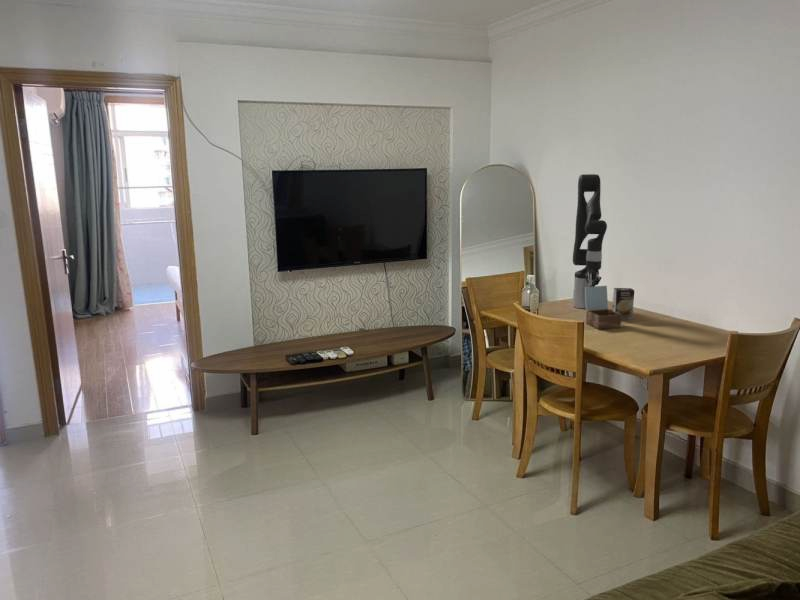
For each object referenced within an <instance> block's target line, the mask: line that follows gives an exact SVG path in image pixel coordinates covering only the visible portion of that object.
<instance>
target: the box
mask: <svg viewBox="0 0 800 600" xmlns="http://www.w3.org/2000/svg"><path fill="white" fill-rule="evenodd" d="M585 325H587V326H589V325H590V327H591V326H592V327H591V328H593V327H594V329H596V330H598V331H600V330H604V331H605V330H614V329H621V327H622V320H621V314H618V313H616V312H613V311H612V309H609V308H608V309H602V310H589V311H586V318H585Z"/></svg>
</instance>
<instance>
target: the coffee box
mask: <svg viewBox="0 0 800 600" xmlns="http://www.w3.org/2000/svg"><path fill="white" fill-rule="evenodd" d="M612 294H613V297H612V308H611V311H613V312H616V313H618V314H621V321H633V315H634V303H635V302H634V301H635V298H634V297H635V289H633V288H630V287H629V288H628V287H614V288H613V293H612Z"/></svg>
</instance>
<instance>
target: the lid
mask: <svg viewBox="0 0 800 600" xmlns="http://www.w3.org/2000/svg"><path fill="white" fill-rule="evenodd" d="M585 303H586V308H585V311H586V312H587V311H594V310H607V309H608V310H609V304H608V303H609V302H608V286H607V285H596V286H594V287H585Z"/></svg>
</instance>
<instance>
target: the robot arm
mask: <svg viewBox="0 0 800 600" xmlns="http://www.w3.org/2000/svg"><path fill="white" fill-rule="evenodd" d="M585 193H593V194H592V196H591V198H590V199H589V200H588V201H587V199H586V197H585ZM607 229H608V224H607V222H606V221H605V220H603V219H602V209H601V177H600V175H599V174H594V173H591V174H589V173H588V174H580V175H579V177H578V181H577V208H576V219H575V231H574V232H575V233H574V234H575V236H574V245H573V251H572V252H573V253H572V264H573V265H574V266H584V268H582V269H580V270H577V271H575V272H574V284H573V294H572V295H573V296H572V297H573V298H572V299H573V301H572V306H573V307H574V308H576V309H586V303H585V287H594V286H599V283H600V281H601V280H602V276H600V271H599V270H601V269H602V261H603V260H602V259H603V255H602V253H603V251H602V250H603V242H604V238H605V236H606V235H605V234H606V232H607ZM588 235H597V236H596V237H594V238H590V239H588V240H587V248H581V246H582V244H583V242H584V241H585V239H586V238H587V237H588Z"/></svg>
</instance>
